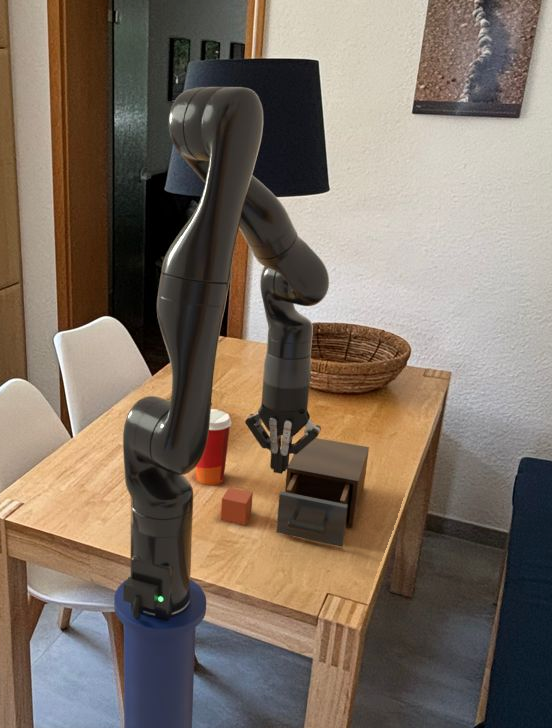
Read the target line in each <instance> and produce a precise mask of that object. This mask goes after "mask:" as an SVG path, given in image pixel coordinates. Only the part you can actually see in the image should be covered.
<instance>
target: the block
mask: <svg viewBox="0 0 552 728" xmlns="http://www.w3.org/2000/svg"><path fill="white" fill-rule="evenodd" d="M253 495H254V493H253V491H250V490H244V489H240V488H235V487H230V486H229V487H228V488H227V489H226V491H225V493H224V494H223V496H222V497H221V505H220V506H221V508H220V521H223V522H228V523H233V524H237V525H242V526H246V524H247V522H248V520H249V519H250V517H251V515H252V513H253V512H252V510H253Z"/></svg>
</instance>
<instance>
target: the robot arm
mask: <svg viewBox="0 0 552 728" xmlns="http://www.w3.org/2000/svg"><path fill="white" fill-rule="evenodd" d="M263 108H264V107H263V105H262V102H261V99H260V97H259V96H258V94H257V93H256V92H255V91H254V90H253V89H251V88H248V87H243V86H197V87H191V88H188V89H185V90H184V91H182V92H181V93H180V94H179V95H178V96H177V97H176V98H175V100H174V101H173V102H172V105H171V107H170V110H169V114H168V132H169V136H170V138H171V141H172V144H173V146H174V148H175V149H176V151H177V152H178V153H179V155H180V156H181V157H182V158H183V159H184V161H185V162H186V163H187V164H188V165H189V167H190V168H191V169H192V170H193V171H194V172H195V173H196V174H197V176H198V177H199V178H200V179H201V180H202V182H203V183H204V186H203V190H202V194H201V196H200V199H199V201H198V204H197V206H196V207H195V210H194V212H193V213H192V215H191V216H190V217H189V219H188V220H187V222H186V223H185V225H184V226H183V227H182V228H181V230H180V231H179V233H178V235H177V236H176V237H175V239H174V240H173V242H172V243H171V244H170V246H169V248H168V250H167V252H166V253H165V256H164V258H163V261H162V266H161V273H160V278H159V285H158V291H157V297H156V314H157V320H158V325H159V328H160V332H161V335H162V339H163V342H164V345H165V348H166V352H167V356H168V358H169V362H170V366H171V368H170V369H171V378H172V379H171V395H170V396H171V402H170V401H168V400H166V399H165V398H162V397H159V396H155V395H150V396H144V397H142V398H140V399H139V400H137V401H136V402H135V403H134V404H133V405H132V407H130V409H129V411H128V414H127V415H126V418H125V421H124V426H123V431H122V432H123V433H122V452H123V453H122V455H123V465H124V466H123V470H124V482H125V486H126V489H127V492H128V494H129V497H130V576H128V578H127V579H125V580H126V582H125V583H124V584H123V599H124V601H125V602H129V603H131V611H132V613H133V616H134V618H135V619H136V620H139V619H140V617H141V616H140V614H143V615H146V616H150V617H154V618H157V619H161V620H164V621H169V620H170V618H171V617H173V616H176V615H179V614H181V613H182V612H184V611H185V610H186V609H187V608H188V606H189V604H190V598H191V595H190V579H191V577H192V576H191V573H192V570H191V569H192V545H193V544H192V542H193V541H192V540H193V518H194V517H193V516H194V515H193V513H194V489H193V486H192V484H191V482H190V481H189V480H188V479H187V477H186V476H185V475H186V474H187V475H188V474H189V473H190V472H192V471H193V470H195V467H196V466H197V464H198V463H199V461H200V460H201V458H202V455H203V453H204V450H205V447H206V443H207V439H208V434H209V425H210V413H211V409H212V406H211V403H212V398H213V385H214V375H215V366H216V360H217V359H216V358H217V352H218V347H219V340H220V333H221V328H222V322H223V318H224V313H225V309H226V303H227V298H228V297H227V296H228V292H229V286H230V282H231V274H232V266H233V259H234V256H235V255H234V254H235V250H236V245H237V238H238V233H239V231H240V233H241V235H242V237H243V238H244V241H245V242H246V244H247V245H248V247H249V249H250V251H251V253H252V254H253V257H255V259H256V260H257V262H258V263H259V264H261V265H262V266H263V269H262V272H261V275H260V282H259V283H260V293H261V298H262V304H263V309H264V314H265V319H266V323H267V342H266V354H265V358H264V363H263V377H262V379H263V380H262V392H261V405H260V407H259V408H258V410H257V412H255V413H250V414H249V415H248V416H247V418H246V419H245V425H246V426H247V428H248V429H249V431H250V432H251V434H252V436H254V438H255V439H256V442H258V444H259V446H260V447H261V448H262V449H267V450H268V451H270V464H269V466H270V469H271V470H272V471H273V474H279V475H282V474H283V473H284V472H287V467H288V465H289V463H290V455H291V454H292V455H294V454H298V453H299V452H300V451H301V450H302V449H303V448H305V447H306V446H307V445H308V444H309V443H310V442H311V441H313V440H314V439H315V438H318V437H319V435H320V432H321V431H322V427H321V426H320V425H318V424H316V425H315V423H313V422H312V421H311V419H310V418H311V417H310V412H309V410H308V408H309V407H308V405H309V394H310V386H311V385H310V383H311V379H312V359H311V358H312V357H311V356H312V344H313V334H314V326H313V323H312V321H311V319H309V318H307V316H304V315H303V314H302V313H300V312H299V311H298V310H297V309H296V307H295V305H297V306H301V307H312V306H313V307H314V306H316V305H317V304H319V303H321V302H322V301H323V300H324V299H325V297H326V296H327V294H328V292H329V287H330V277H329V272H328V270H327V267H326V265H325V263H324V261H323V260H322V259H321V257H320V256H319V255H318V254H317V253H316V252H315V251H314V250H313V249H312V248H311V247H310V245H308V243H307V242H306V241H305V240H303V239H302V238H301V237H300V236H299V234H298V231H297V229H296V228H295V226H294V223H293V222H292V219H291V217H290V215H289V213H288V211H287V209H286V208H285V206H284V204H283V203H282V201H280V200H279V198H278V197H277V196H276V195H275V194H274V193H273V192H272V191H271V190H270V189H269V188H268V187H266V185H264V183H262V182H261V181H260V180H259V179H258V178H257V177H255V176H254V175H253V173H254V169H255V165H256V162H257V159H258V158H257V157H258V154H259V151H260V146H261V142H262V137H263V129H264V109H263ZM262 424H263V425H264V426H265V427H264V426H263V425H262ZM304 427H305V428H304ZM265 428H266V429H265ZM303 428H304V430H303V434H304V435H302V437H300V438H299V439H298V440H297V441H296V442H294V443H293V439H294V436H296V435H297V434H298V433H299V432H300V431H301V430H302V429H303ZM268 432H269V433H268Z"/></svg>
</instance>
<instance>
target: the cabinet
mask: <svg viewBox="0 0 552 728" xmlns="http://www.w3.org/2000/svg"><path fill="white" fill-rule="evenodd" d="M369 450H370V447H369V446H365V445H359V444H354V443H348V442H342V441H335V440H329V439H324V438H318V437H316V438H315V439H314V440H313V441H311V442H310V443H309V444H308V445H307V446H306V447H305V448H303V449H302V450H301V451H300V452H299V453H298V454H292V457H291V459H290V460H289V465H288V467H287V469H286V475H285V488H284V492H286V489H287V487H288V485H289V483H290V481H291V479H292V477H293V475H294V473H297V474H303V475H308V476H313V477H318V478H324V479H329V480H334V481H340V482H345V483H350V484H353V486H352V495H351V503H350V509H349V512H348V515H347V518H346V524H345V527H348V528H354V525H355V524H354V523H355V521H356V517H357V514H358V510H359V507H360V504H361V501H362V496H363V493H364V489H365V483H366V475H367V467H368V466H367V465H368V458H369Z"/></svg>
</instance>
